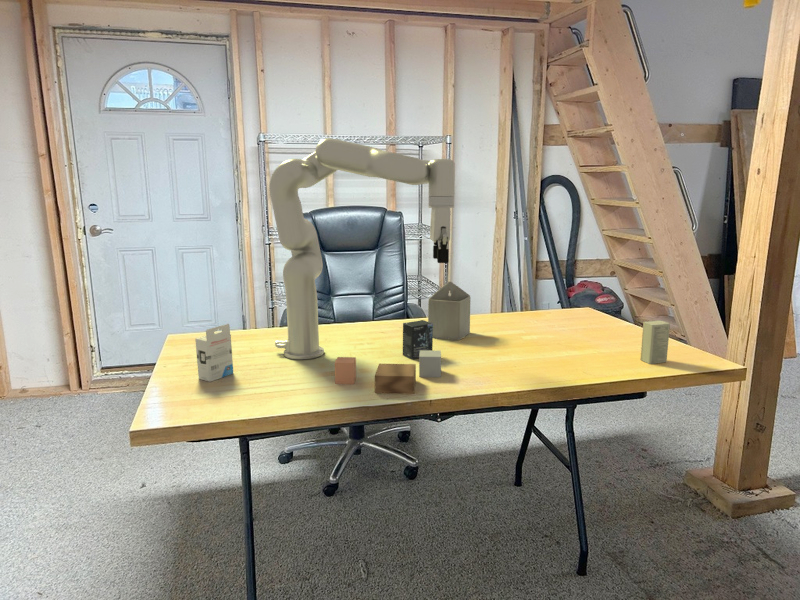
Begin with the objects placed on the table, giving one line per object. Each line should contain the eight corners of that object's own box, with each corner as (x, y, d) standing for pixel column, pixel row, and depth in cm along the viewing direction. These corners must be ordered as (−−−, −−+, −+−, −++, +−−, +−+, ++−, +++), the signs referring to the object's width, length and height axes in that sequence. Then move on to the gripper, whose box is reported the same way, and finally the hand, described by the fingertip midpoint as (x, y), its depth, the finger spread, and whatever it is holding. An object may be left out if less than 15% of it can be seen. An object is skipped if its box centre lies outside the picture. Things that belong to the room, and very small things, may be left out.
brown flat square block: (374, 394, 145) (374, 375, 144) (379, 380, 155) (379, 363, 154) (413, 395, 144) (413, 376, 143) (415, 381, 154) (415, 364, 153)
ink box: (222, 370, 163) (218, 321, 160) (234, 373, 161) (230, 323, 158) (197, 379, 156) (193, 327, 153) (209, 382, 153) (205, 329, 150)
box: (412, 360, 172) (412, 326, 170) (402, 355, 177) (402, 322, 175) (433, 355, 176) (433, 322, 174) (422, 351, 181) (422, 319, 179)
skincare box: (657, 358, 172) (660, 319, 170) (667, 362, 168) (671, 323, 166) (639, 360, 171) (642, 321, 168) (649, 364, 167) (652, 324, 164)
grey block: (419, 377, 157) (419, 356, 156) (419, 370, 163) (419, 350, 162) (440, 377, 157) (441, 356, 155) (440, 370, 162) (440, 350, 161)
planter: (437, 342, 191) (437, 286, 187) (427, 336, 198) (428, 282, 194) (479, 337, 197) (480, 283, 193) (469, 332, 204) (470, 279, 200)
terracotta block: (335, 383, 152) (334, 362, 151) (338, 377, 157) (337, 357, 156) (353, 384, 152) (353, 362, 150) (356, 378, 156) (355, 357, 155)
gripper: (425, 201, 173) (424, 257, 176) (432, 203, 156) (431, 264, 160) (449, 201, 174) (448, 256, 177) (459, 203, 157) (457, 264, 160)
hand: (440, 260), depth 168 cm, fingers open, 9 cm apart
